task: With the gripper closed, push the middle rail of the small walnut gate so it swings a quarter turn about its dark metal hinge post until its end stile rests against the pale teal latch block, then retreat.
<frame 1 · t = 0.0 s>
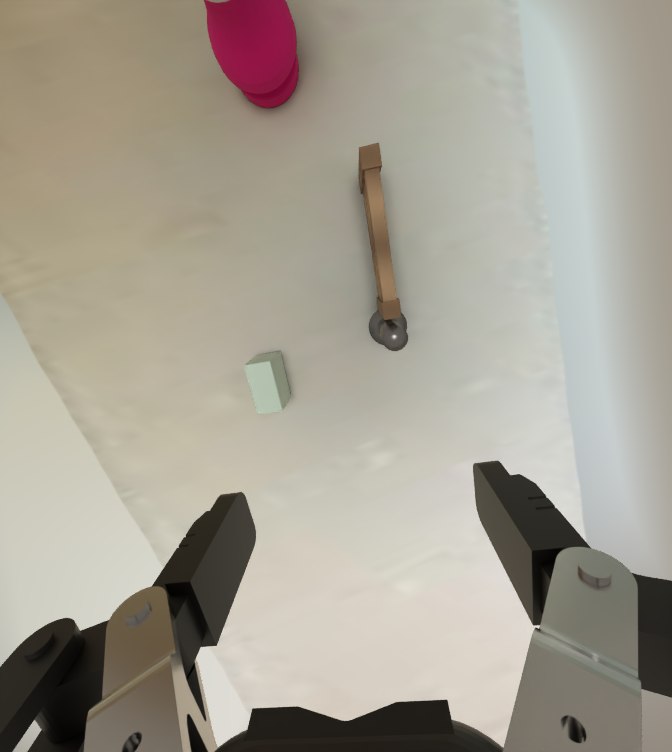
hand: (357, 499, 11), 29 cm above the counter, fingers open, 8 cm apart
hinge post: (387, 326, 38), on the counter
pepper mill: (268, 71, 32), on the counter
latch block: (274, 375, 41), on the counter
gate: (378, 242, 32), point 5 cm above the counter, hinge at 0.0°
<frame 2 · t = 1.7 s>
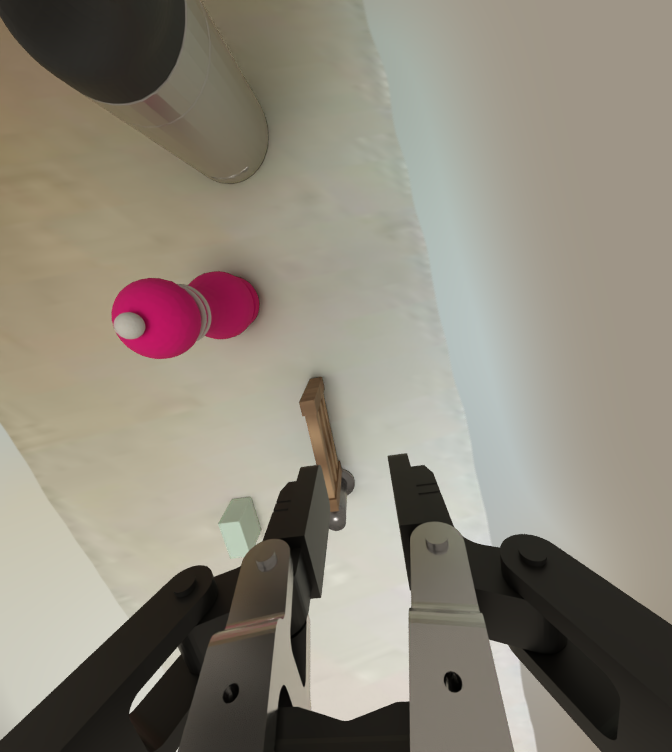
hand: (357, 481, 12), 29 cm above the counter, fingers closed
hinge post: (339, 481, 46), on the counter
pepper mill: (235, 302, 40), on the counter
latch block: (246, 514, 49), on the counter
gate: (323, 441, 39), point 4 cm above the counter, hinge at 0.0°
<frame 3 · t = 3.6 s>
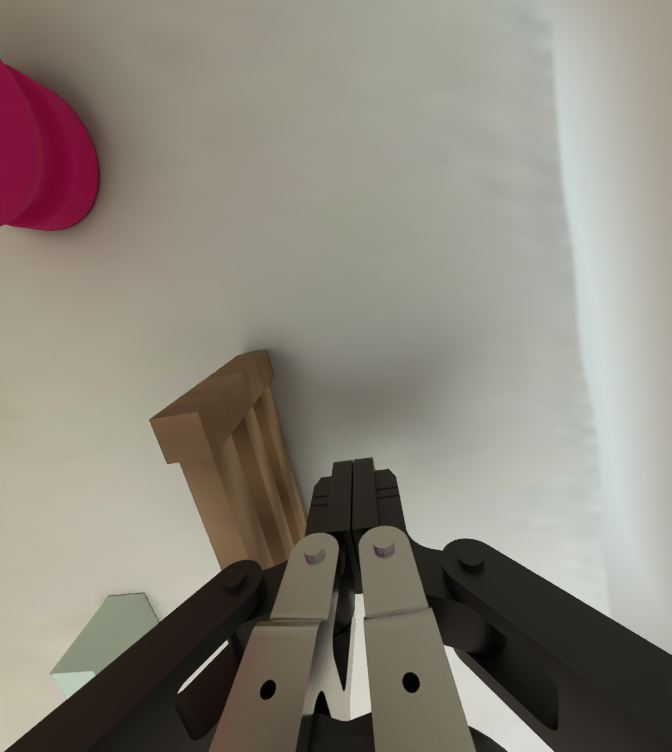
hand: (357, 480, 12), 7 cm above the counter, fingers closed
pepper mill: (41, 162, 16), on the counter
latch block: (140, 622, 25), on the counter
gate: (265, 509, 16), point 5 cm above the counter, hinge at 0.0°
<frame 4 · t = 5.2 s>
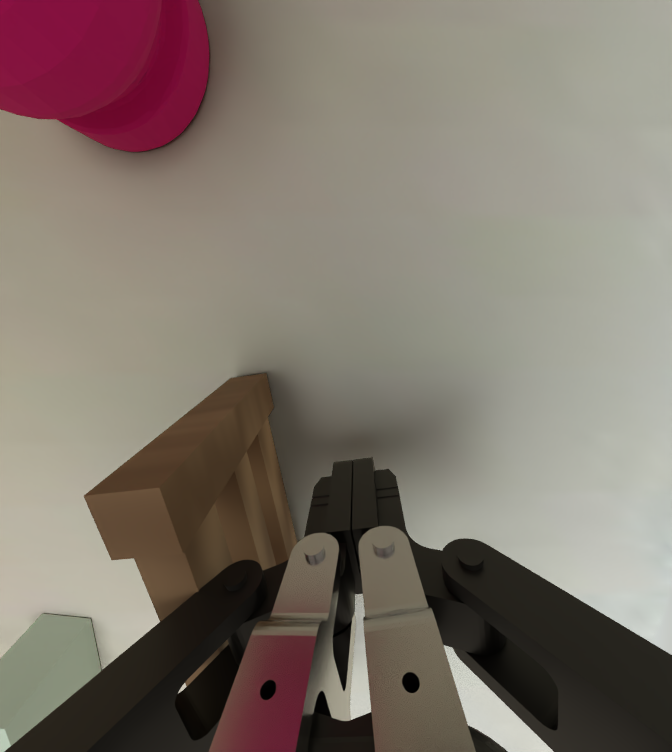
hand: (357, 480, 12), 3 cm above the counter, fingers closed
pepper mill: (127, 54, 11), on the counter
latch block: (74, 651, 20), on the counter
gate: (258, 583, 12), point 4 cm above the counter, hinge at 12.8°, touching hand
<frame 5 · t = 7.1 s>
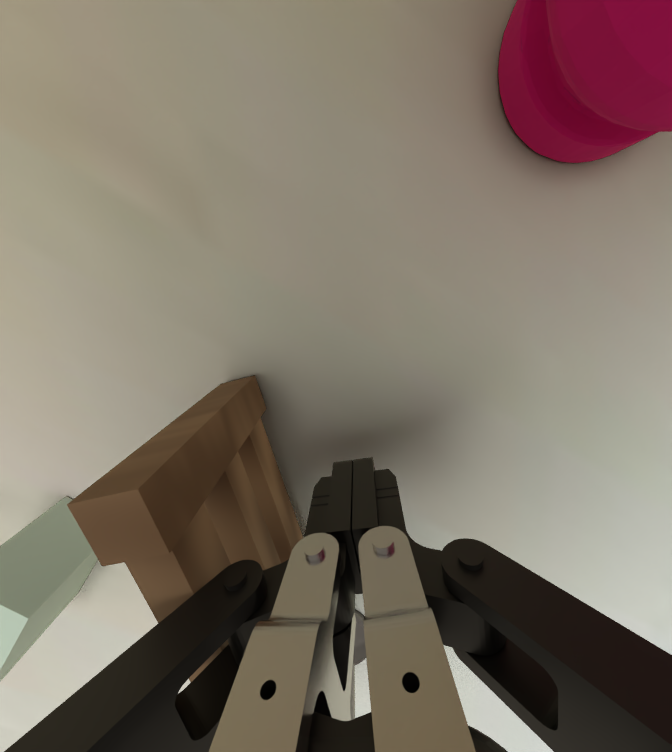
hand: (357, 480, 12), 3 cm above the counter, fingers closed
hinge post: (333, 632, 19), on the counter
pepper mill: (587, 62, 11), on the counter
latch block: (72, 547, 18), on the counter
gate: (264, 584, 12), point 4 cm above the counter, hinge at 49.6°, touching hand
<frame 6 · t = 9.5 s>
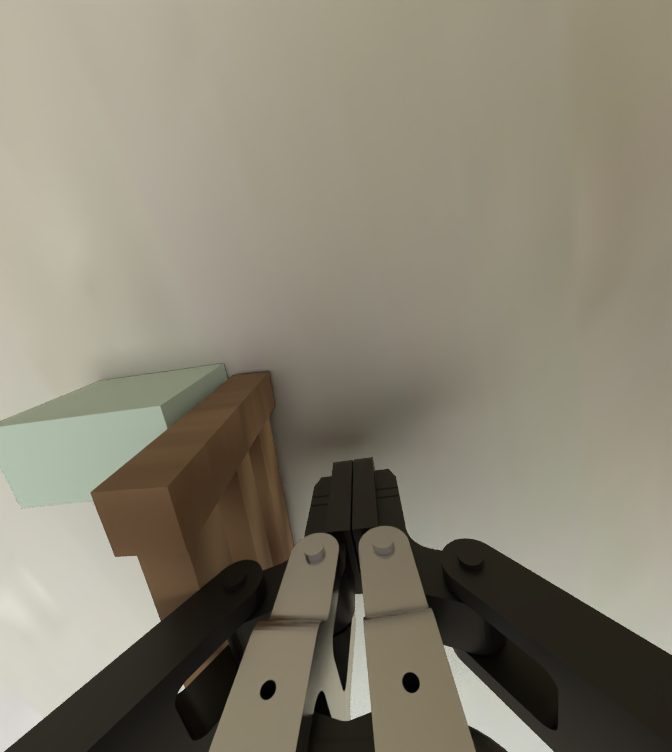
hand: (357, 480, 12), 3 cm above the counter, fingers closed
latch block: (170, 402, 15), on the counter
gate: (254, 581, 12), point 5 cm above the counter, hinge at 87.9°, touching hand
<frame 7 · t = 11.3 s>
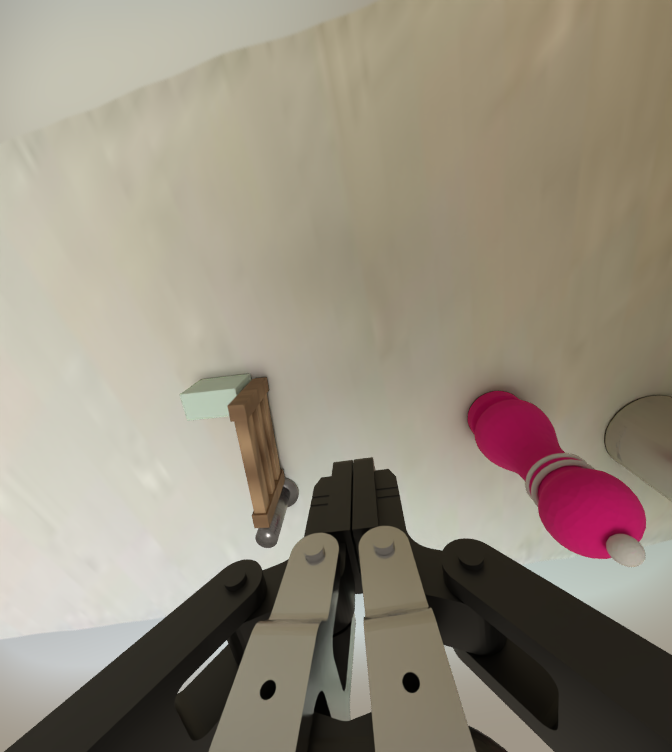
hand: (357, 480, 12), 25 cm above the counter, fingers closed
hinge post: (282, 491, 43), on the counter
pepper mill: (493, 414, 38), on the counter
latch block: (228, 388, 38), on the counter
gate: (260, 449, 36), point 4 cm above the counter, hinge at 88.1°
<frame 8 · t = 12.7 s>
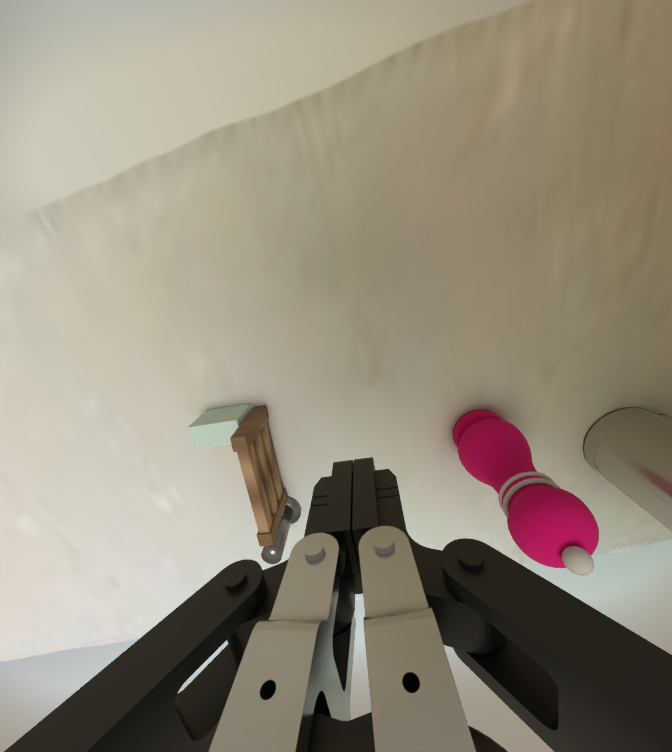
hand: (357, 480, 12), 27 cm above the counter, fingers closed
hinge post: (285, 509, 46), on the counter
pepper mill: (477, 431, 41), on the counter
latch block: (231, 417, 42), on the counter
gate: (263, 473, 39), point 4 cm above the counter, hinge at 88.1°
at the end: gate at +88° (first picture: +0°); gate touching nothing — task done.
